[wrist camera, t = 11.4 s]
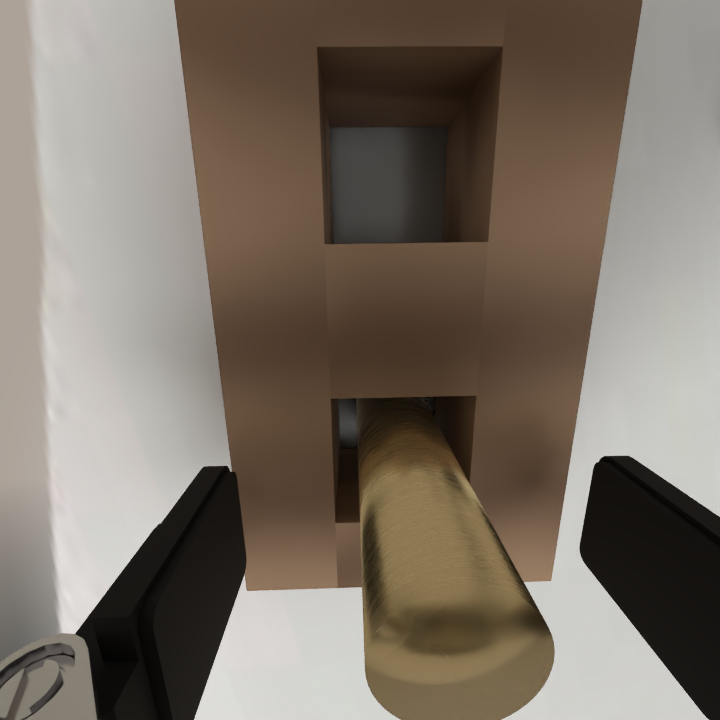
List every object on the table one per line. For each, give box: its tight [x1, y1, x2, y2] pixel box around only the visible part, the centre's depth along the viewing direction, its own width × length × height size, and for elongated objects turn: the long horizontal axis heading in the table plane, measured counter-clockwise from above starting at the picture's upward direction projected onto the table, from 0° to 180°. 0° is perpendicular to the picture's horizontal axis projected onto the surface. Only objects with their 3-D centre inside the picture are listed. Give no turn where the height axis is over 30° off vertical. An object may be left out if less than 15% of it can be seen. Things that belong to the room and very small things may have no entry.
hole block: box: [174, 0, 642, 591], centre depth 13 cm, size 19×11×5 cm, turn 1°
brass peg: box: [356, 397, 554, 720], centre depth 11 cm, size 3×3×11 cm
